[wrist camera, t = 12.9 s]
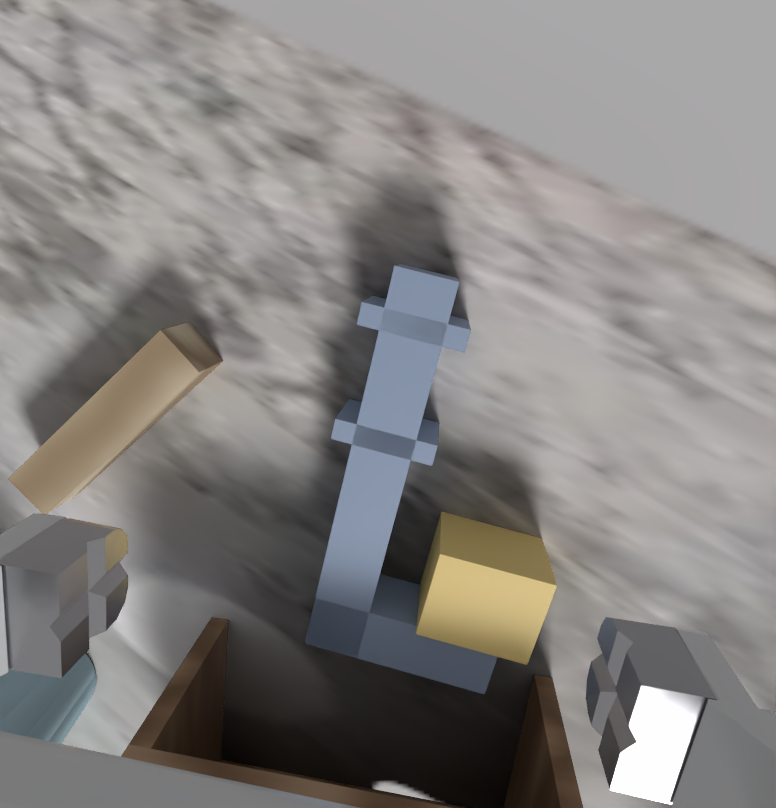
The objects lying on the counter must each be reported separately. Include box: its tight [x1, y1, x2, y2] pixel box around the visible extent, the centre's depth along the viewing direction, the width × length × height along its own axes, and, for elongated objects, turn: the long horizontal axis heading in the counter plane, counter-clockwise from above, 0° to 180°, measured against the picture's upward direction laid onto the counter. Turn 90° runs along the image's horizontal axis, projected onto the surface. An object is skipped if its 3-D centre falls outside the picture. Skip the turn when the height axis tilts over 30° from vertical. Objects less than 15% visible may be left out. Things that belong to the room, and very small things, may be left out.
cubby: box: [121, 617, 583, 808], centre depth 30 cm, size 20×12×10 cm, turn 83°
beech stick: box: [8, 322, 223, 514], centre depth 29 cm, size 3×12×3 cm, turn 131°
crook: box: [304, 264, 498, 694], centre depth 28 cm, size 10×19×4 cm, turn 167°
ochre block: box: [416, 512, 557, 665], centre depth 29 cm, size 6×4×4 cm
